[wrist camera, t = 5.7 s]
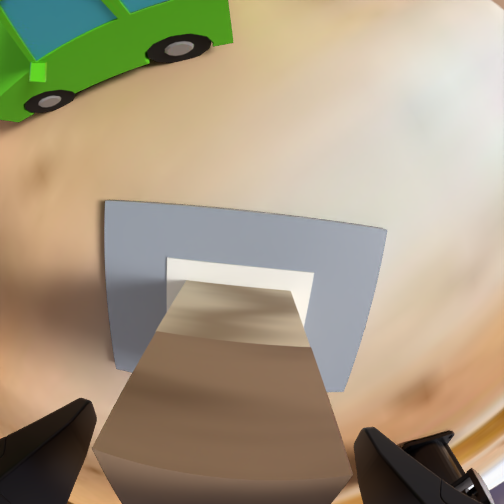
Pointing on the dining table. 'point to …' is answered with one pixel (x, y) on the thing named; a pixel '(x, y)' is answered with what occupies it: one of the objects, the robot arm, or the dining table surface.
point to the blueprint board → (240, 272)
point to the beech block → (235, 314)
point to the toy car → (94, 44)
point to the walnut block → (223, 427)
